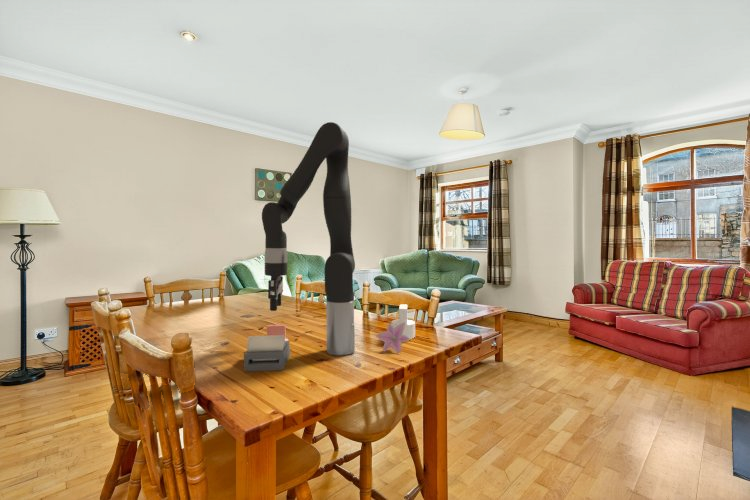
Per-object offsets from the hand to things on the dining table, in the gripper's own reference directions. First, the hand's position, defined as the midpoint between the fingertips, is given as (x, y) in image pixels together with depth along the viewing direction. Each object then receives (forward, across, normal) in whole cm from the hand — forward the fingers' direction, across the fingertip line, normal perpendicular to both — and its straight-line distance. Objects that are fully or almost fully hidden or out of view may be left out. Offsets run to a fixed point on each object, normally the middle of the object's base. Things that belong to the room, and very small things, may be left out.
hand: (275, 308), depth 122 cm
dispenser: (+14, -14, 0) cm, 20 cm away
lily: (+14, -6, -40) cm, 43 cm away
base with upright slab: (+14, +8, -46) cm, 49 cm away
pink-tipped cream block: (+12, -9, 0) cm, 15 cm away
